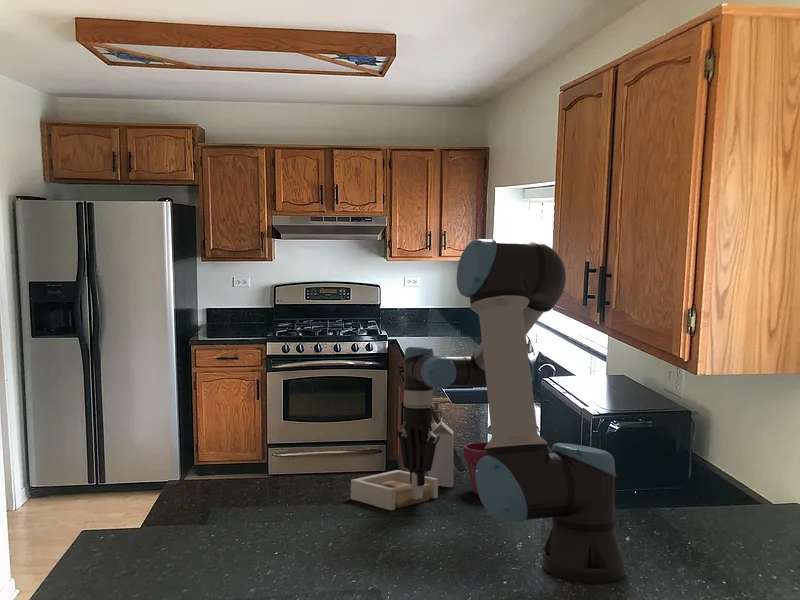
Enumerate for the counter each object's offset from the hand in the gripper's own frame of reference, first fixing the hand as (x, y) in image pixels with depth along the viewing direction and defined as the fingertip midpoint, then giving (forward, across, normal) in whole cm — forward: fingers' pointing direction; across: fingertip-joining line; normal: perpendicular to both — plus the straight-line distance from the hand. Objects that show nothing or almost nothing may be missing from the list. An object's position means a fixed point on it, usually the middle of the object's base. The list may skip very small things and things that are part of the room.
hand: (417, 497), depth 168 cm
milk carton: (+2, +10, -21) cm, 23 cm away
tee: (+2, +6, 0) cm, 6 cm away
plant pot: (+2, -6, -24) cm, 25 cm away
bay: (+2, +8, 0) cm, 8 cm away
